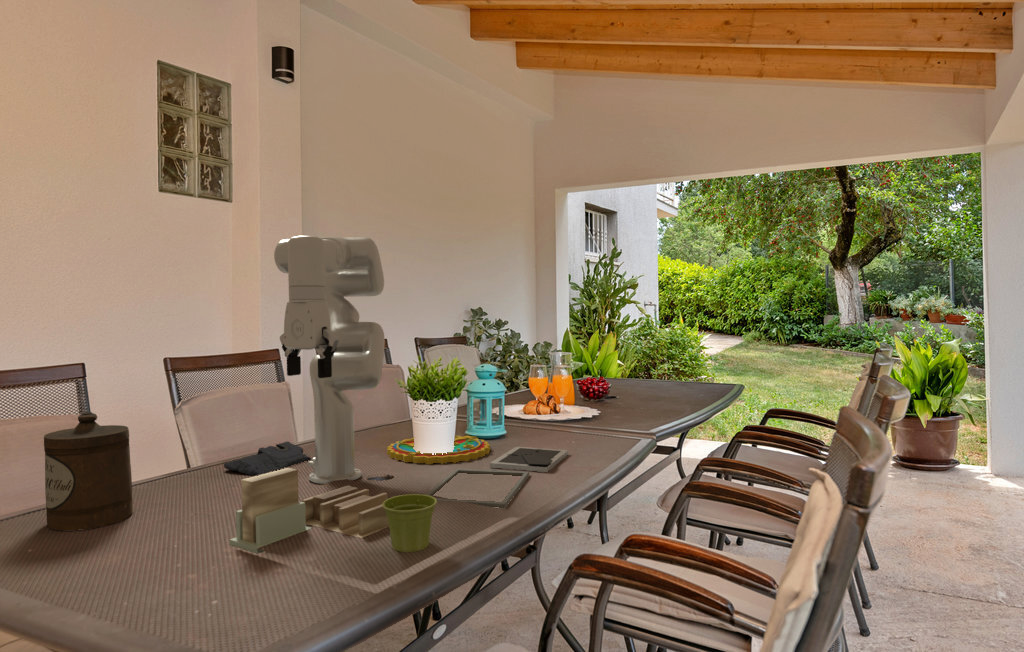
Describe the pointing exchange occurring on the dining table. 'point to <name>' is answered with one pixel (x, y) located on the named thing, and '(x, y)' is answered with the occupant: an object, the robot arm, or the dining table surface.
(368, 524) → the offcut rack
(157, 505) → the dining table surface
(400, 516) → the plant pot
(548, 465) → the grey-brown pointed piece
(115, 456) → the wooden container
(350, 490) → the walnut offcut
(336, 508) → the walnut offcut
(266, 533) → the green stand
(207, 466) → the dining table surface
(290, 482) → the maple block
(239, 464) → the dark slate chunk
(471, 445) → the decorative plaque
